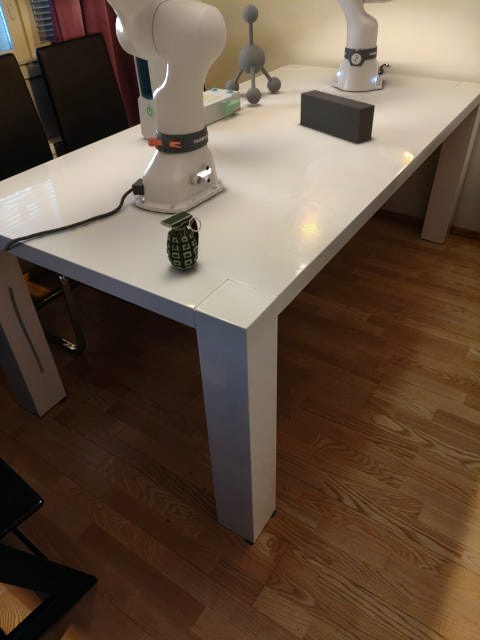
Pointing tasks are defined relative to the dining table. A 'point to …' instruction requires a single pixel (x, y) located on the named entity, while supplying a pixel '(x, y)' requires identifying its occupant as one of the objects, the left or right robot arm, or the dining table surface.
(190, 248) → the grenade
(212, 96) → the decorative block
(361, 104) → the bar
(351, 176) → the dining table surface
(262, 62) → the molecular model
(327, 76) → the dining table surface
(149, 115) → the electronic device
